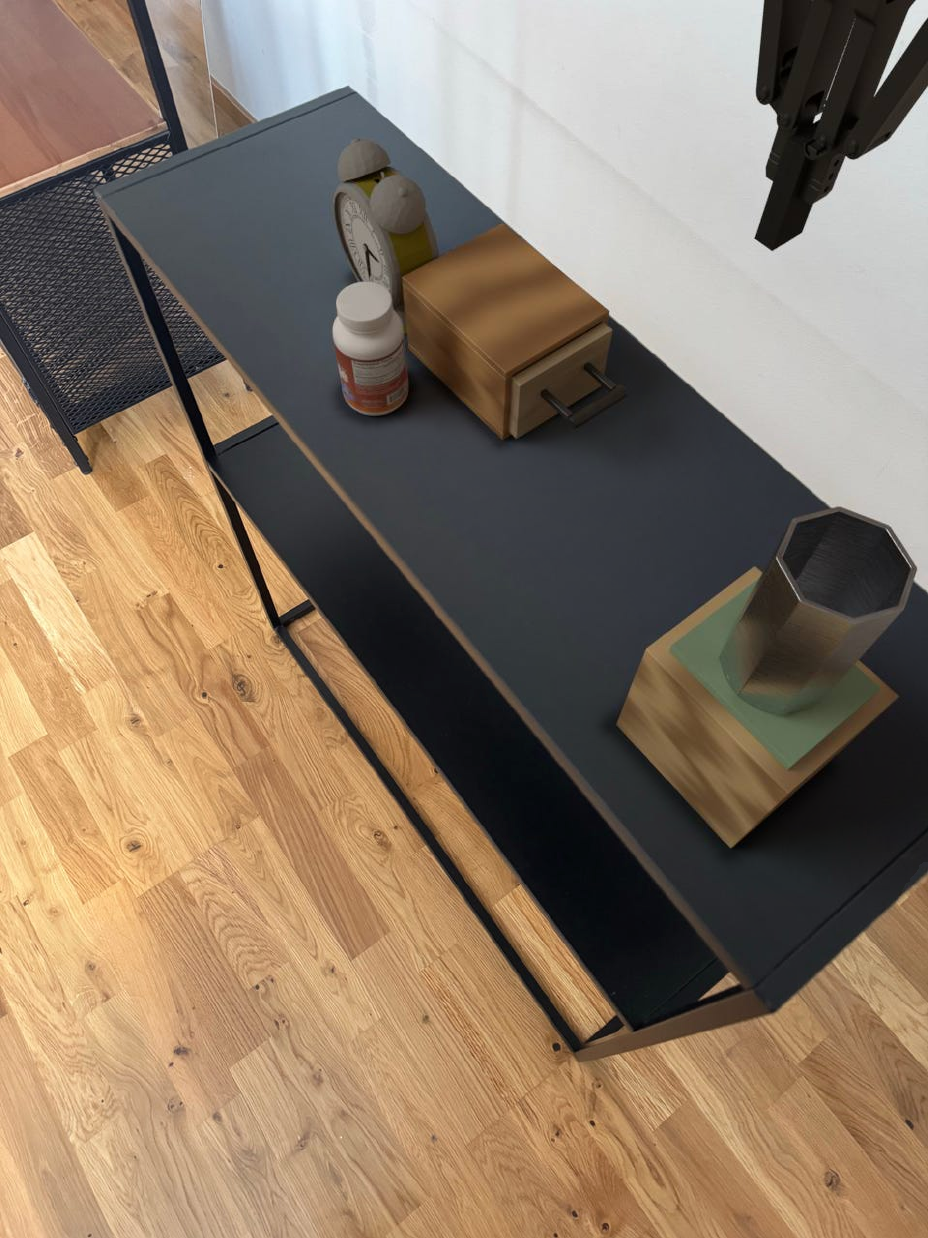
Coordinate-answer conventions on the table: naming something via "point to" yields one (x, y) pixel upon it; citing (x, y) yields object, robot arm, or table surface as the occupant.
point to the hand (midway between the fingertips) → (778, 235)
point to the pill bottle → (370, 349)
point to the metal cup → (816, 609)
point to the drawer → (564, 383)
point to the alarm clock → (381, 220)
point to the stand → (721, 736)
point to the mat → (775, 732)
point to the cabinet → (492, 318)
